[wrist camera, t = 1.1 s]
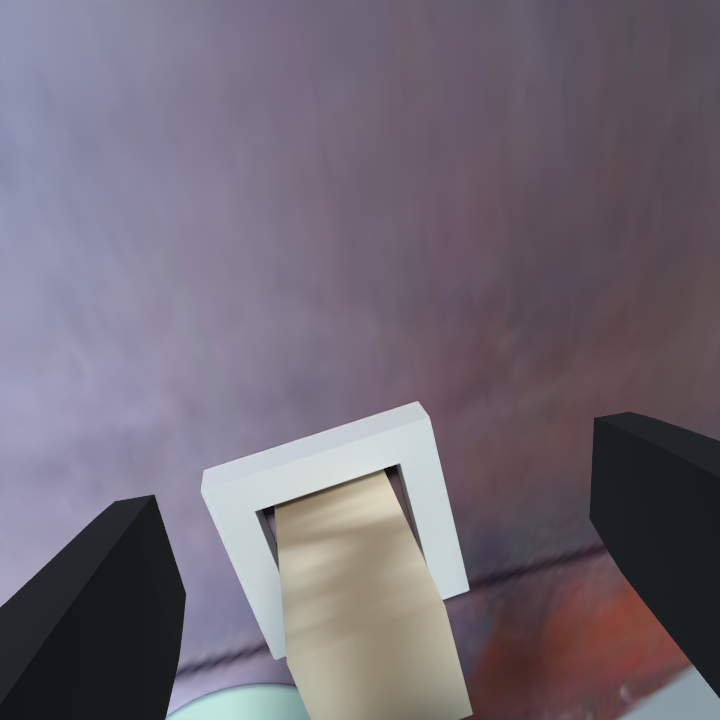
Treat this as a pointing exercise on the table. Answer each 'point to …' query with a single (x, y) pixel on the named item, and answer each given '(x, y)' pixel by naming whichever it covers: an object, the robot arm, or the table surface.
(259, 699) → the coaster
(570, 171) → the table surface
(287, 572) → the maple block
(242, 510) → the frame
